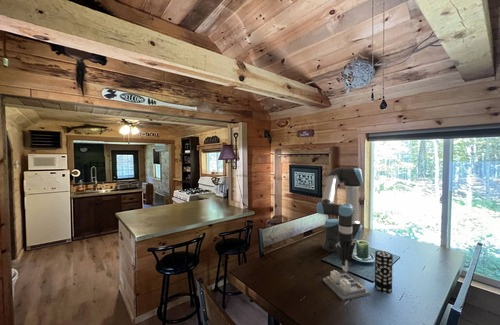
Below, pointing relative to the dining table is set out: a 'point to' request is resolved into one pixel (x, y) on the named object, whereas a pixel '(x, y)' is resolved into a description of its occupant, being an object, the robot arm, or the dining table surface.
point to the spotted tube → (383, 271)
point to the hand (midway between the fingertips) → (345, 270)
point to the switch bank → (355, 291)
